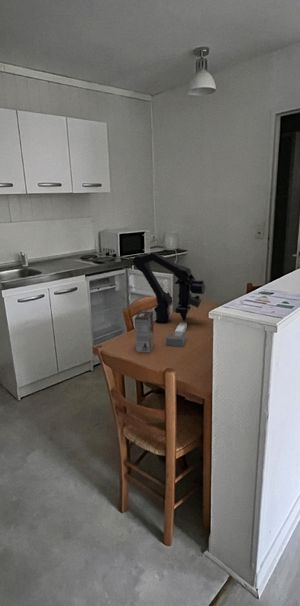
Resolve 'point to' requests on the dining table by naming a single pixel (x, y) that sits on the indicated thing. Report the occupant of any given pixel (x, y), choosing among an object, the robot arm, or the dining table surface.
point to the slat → (180, 329)
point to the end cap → (175, 340)
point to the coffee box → (144, 331)
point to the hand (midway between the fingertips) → (184, 320)
